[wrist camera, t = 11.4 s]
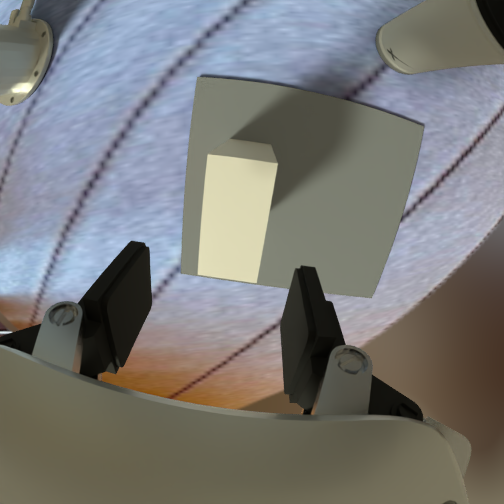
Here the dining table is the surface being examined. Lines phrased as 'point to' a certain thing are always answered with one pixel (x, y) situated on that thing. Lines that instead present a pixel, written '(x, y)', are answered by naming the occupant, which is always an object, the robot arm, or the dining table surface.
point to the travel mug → (444, 36)
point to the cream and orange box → (236, 209)
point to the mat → (308, 179)
